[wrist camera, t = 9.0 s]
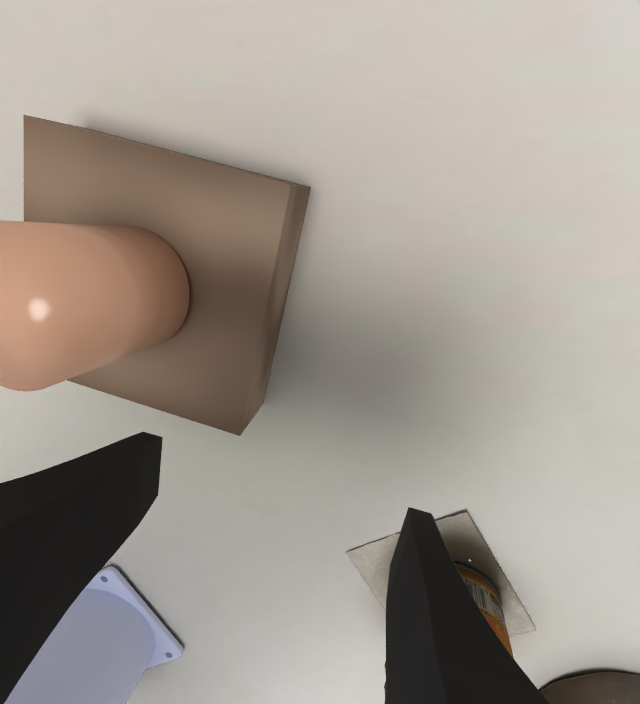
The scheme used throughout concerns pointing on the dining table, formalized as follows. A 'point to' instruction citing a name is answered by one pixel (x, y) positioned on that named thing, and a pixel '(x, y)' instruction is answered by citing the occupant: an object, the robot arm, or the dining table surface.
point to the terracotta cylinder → (82, 298)
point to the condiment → (477, 574)
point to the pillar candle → (595, 689)
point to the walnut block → (193, 251)
